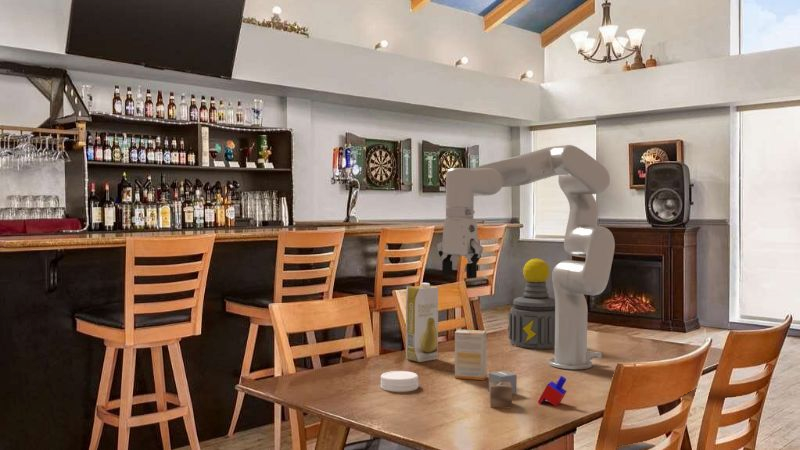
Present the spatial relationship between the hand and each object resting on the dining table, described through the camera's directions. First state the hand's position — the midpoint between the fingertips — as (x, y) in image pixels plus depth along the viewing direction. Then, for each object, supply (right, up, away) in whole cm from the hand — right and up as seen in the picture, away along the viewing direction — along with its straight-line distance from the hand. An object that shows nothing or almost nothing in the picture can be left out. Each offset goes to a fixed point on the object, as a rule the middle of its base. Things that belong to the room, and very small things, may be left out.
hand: (459, 276), depth 190 cm
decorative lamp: (+31, -28, +54) cm, 68 cm away
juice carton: (-9, -28, +28) cm, 41 cm away
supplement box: (+4, -29, +5) cm, 29 cm away
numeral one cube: (+10, -29, -11) cm, 33 cm away
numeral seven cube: (+8, -29, -22) cm, 38 cm away
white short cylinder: (-16, -29, -6) cm, 34 cm away
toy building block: (+21, -29, -21) cm, 42 cm away
